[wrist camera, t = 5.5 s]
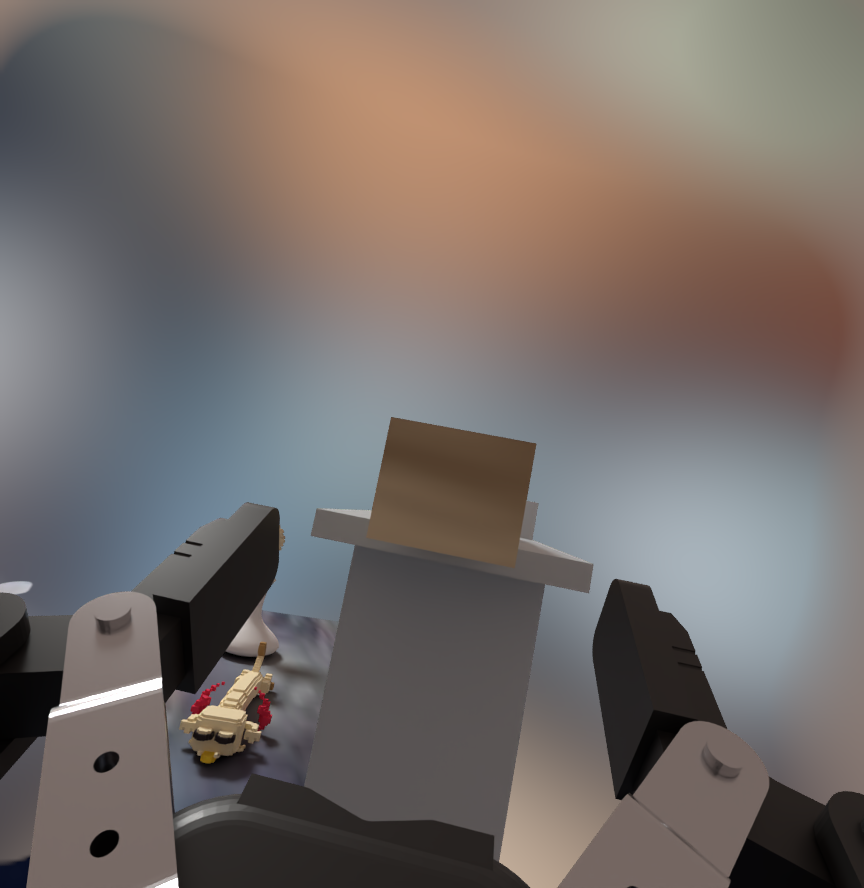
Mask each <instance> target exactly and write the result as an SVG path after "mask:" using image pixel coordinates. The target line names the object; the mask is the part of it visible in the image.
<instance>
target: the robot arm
mask: <svg viewBox="0 0 864 888" xmlns="http://www.w3.org/2000/svg"><path fill="white" fill-rule="evenodd" d="M279 524H280V516H279V511H278V509H277V508H273V507H268V506H263V505H258V504H253V503H249V502H247V503H244V504H243V505H242V506H241V507H240V508H239V509H238V510H237V511H236V512H235V513H234V514H233V515H232V516H231V517H230V518H229V519H224V518H219V519H217V520H214V521H212V522H210V523H208V524H206V525H204V526H202V527H200V528H199V529H198V530H197V531H195V532H194V533H193V534H192V535H191V536H190V537H189V538H188V539H187V540H186V542H185V543H183V544H181V545H180V547H178V548H177V549H176V550H175V551H174V554H171V555H170V556H169V557H167V559H165V560H164V561H163V562H162V563H161V564H160V565H159V566H158V567H157V568H156V569H155V570H153V571H152V572H151V573H150V574H149V575H148V576H147V577H146V578H145V579H144V580H143V581H142V582H141V583H139V585H137V586H136V587H135V588H134V589H133V590H132V591H131V592H117V593H111V594H107V595H104V596H101V597H98V598H96V599H94V600H92V601H90V602H88V603H87V604H85V605H84V606H82V607H81V608H80V609H79V610H78V611H76V613H75V614H74V615H62V616H28V613H27V609H26V605H25V602H24V601H23V599H22V598H20V597H19V596H17V595H14V594H10V593H0V779H1V778H2V777H3V776H4V775H5V774H6V773H7V772H8V770H9V769H10V768H11V767H12V765H14V763H15V762H16V761H17V760H18V759H19V758H20V757H21V756H22V754H23V753H24V752H25V751H26V750H27V749H28V748H29V746H30V745H31V744H32V743H33V742H34V741H35V740H36V738H37V737H42V736H46V742H45V750H44V757H43V765H42V772H41V781H40V788H39V795H38V803H37V812H36V818H35V826H34V834H33V842H32V849H31V857H30V865H29V872H28V880H27V888H530V887H529V886H528V885H527V884H526V883H525V882H524V881H523V880H521V878H519V877H518V876H517V875H516V874H515V873H513V872H512V871H511V870H509V869H508V868H507V867H505V866H504V865H503V864H501V863H499V862H498V861H496V860H494V859H493V857H494V835H490V834H486V833H482V832H478V831H475V830H471V829H467V828H463V827H459V826H455V825H451V824H447V823H443V822H439V821H436V820H405V821H366V820H363V819H361V818H359V817H357V816H356V815H354V814H352V813H351V812H349V811H347V810H346V809H344V808H342V807H340V806H339V805H337V804H335V803H334V802H332V801H330V800H329V799H327V798H325V797H324V796H322V795H320V794H318V793H317V792H315V791H313V790H312V789H310V788H307V787H303V786H299V785H295V784H291V783H287V782H283V781H279V780H276V779H272V778H268V777H264V776H260V775H256V774H251V776H250V778H249V780H248V782H247V784H246V786H245V788H244V790H243V792H242V794H233V795H226V796H220V797H215V798H212V799H208V800H204V801H201V802H199V803H196V804H193V805H191V806H188V807H186V808H184V809H182V810H180V811H178V812H176V813H175V808H174V798H173V786H172V774H171V763H170V751H169V739H168V728H167V716H166V705H165V703H166V701H167V700H168V699H169V697H170V696H171V695H172V693H173V692H174V691H175V689H176V690H180V691H184V692H188V693H192V694H196V692H197V691H198V689H199V688H200V687H201V685H202V684H203V682H204V681H205V680H206V678H207V677H208V675H209V674H210V672H211V671H212V670H213V668H214V667H215V665H216V664H217V662H218V661H219V660H220V658H221V657H222V655H223V654H224V652H225V651H226V650H227V648H228V647H229V645H230V644H231V642H232V641H233V640H234V638H235V637H236V635H237V634H238V632H239V631H240V630H241V628H242V627H243V625H244V624H245V623H246V621H247V620H248V618H249V617H250V615H251V614H252V613H253V611H254V610H255V608H256V607H257V605H258V604H259V603H260V601H261V600H262V598H263V597H264V595H265V594H266V593H267V591H268V590H269V588H270V587H271V585H272V583H273V581H274V579H275V576H276V573H277V569H278V563H279ZM593 663H594V669H595V675H596V681H597V687H598V694H599V700H600V706H601V712H602V718H603V724H604V730H605V736H606V743H607V748H608V755H609V761H610V767H611V773H612V779H613V785H614V791H615V797H616V799H619V800H622V801H621V802H620V803H619V805H618V806H617V808H616V809H615V810H614V812H613V813H612V814H611V816H610V817H609V818H608V820H607V821H606V822H605V824H604V825H603V826H602V828H601V829H600V831H599V832H598V833H597V835H596V836H595V838H594V839H593V840H592V841H591V843H590V844H589V846H588V847H587V848H586V850H585V851H584V852H583V854H582V855H581V856H580V858H579V859H578V860H577V862H576V864H575V865H574V866H573V867H572V869H571V870H570V871H569V873H568V874H567V875H566V877H565V878H564V879H563V881H562V882H561V883H560V885H559V886H558V888H864V795H862V794H860V793H855V792H848V791H843V792H838V793H836V794H834V795H833V796H832V797H831V798H830V800H829V801H828V803H827V804H826V806H825V805H823V804H821V803H819V802H817V801H815V800H813V799H811V798H809V797H807V796H805V795H802V794H801V793H799V792H797V791H795V790H793V789H791V788H789V787H787V786H785V785H783V784H781V783H779V782H777V781H775V780H774V779H772V778H770V777H769V776H768V773H767V770H766V768H765V766H764V764H763V762H762V761H761V759H760V758H759V757H758V755H757V754H756V753H755V751H754V750H753V749H752V748H751V747H750V746H749V745H748V744H747V743H746V742H744V741H743V740H742V739H741V738H740V737H738V736H737V735H736V734H734V733H732V732H731V731H729V730H727V727H726V725H725V723H724V720H723V717H722V715H721V713H720V710H719V708H718V705H717V703H716V700H715V698H714V695H713V693H712V691H711V688H710V686H709V683H708V681H707V678H706V676H705V674H704V671H702V666H701V664H700V661H699V659H698V656H697V655H695V649H694V646H693V644H692V641H691V639H690V637H689V634H688V632H687V631H686V630H685V628H684V627H683V626H682V625H681V624H680V623H679V622H678V620H677V619H676V618H675V617H674V616H673V615H672V614H671V613H667V612H663V611H659V609H658V606H657V604H656V601H655V598H654V596H653V592H652V590H651V588H650V586H648V585H643V584H638V583H633V582H629V581H624V580H618V579H614V580H613V581H612V583H611V585H610V588H609V591H608V594H607V597H606V600H605V603H604V606H603V609H602V612H601V615H600V618H599V621H598V624H597V627H596V630H595V634H594V639H593Z"/></svg>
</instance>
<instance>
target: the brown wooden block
mask: <svg viewBox="0 0 864 888" xmlns="http://www.w3.org/2000/svg"><path fill="white" fill-rule="evenodd" d="M535 449H536V443H530V442H525V441H519V440H514V439H508V438H503V437H498V436H492V435H487V434H481V433H476V432H470V431H464V430H459V429H454V428H448V427H443V426H437V425H432V424H427V423H421V422H415V421H410V420H405V419H399V418H394V417H391V421H390V425H389V430H388V435H387V440H386V445H385V450H384V454H383V459H382V464H381V469H380V473H379V478H378V483H377V488H376V493H375V497H374V502H373V507H372V512H371V517H370V521H369V526H368V531H367V536H366V538H370V539H375V540H379V541H384V542H389V543H394V544H399V545H404V546H409V547H413V548H418V549H423V550H428V551H433V552H438V553H443V554H448V555H452V556H457V557H462V558H467V559H472V560H477V561H482V562H487V563H491V564H496V565H501V566H506V567H511V568H515V564H516V558H517V552H518V547H519V541H520V535H521V529H522V524H523V518H524V512H525V506H526V500H527V494H528V488H529V482H530V477H531V472H532V465H533V460H534V454H535Z"/></svg>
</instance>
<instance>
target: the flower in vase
mask: <svg viewBox="0 0 864 888" xmlns="http://www.w3.org/2000/svg"><path fill="white" fill-rule="evenodd" d="M283 533H284V531H283V529H280V525H279V550H281V547H280V546H283V543H284V542H285V540H284V539H285V536H284V535H283ZM275 581H276V579H274V581H273V583H274V582H275ZM273 583H272V584H273ZM265 596H266V594H265V595H264V597H263V598H262V600H261V601H260V603H259V604H258V605H257V607H256V608H255V610H254V611H253V613H252V614H251V615H250V617H249V618H248V620H247V621H246V623H245V624H244V625H243V627H242V628H241V630H240V631H239V632H238V634H237V635H236V637H235V638H234V640H233V641H232V642H231V644H230V645H229V647H228V648H227V650H226V652H229V653H231V654H235V655H239V656H247V657H257V656H258V648H259V645H260V642H267V645H266V653H265V655H269V654H272V653H274V652H275V651H276V650H277V649H278V647H279V644H278V640H277V639H276V637H275V635H274V634H273V633H272V632H271V631H270V629H269V628H268V627H267V626H266V625H265V624H264V622H263V620H262V618H261V611H262V605H263V602H264V598H265Z"/></svg>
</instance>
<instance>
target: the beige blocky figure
mask: <svg viewBox="0 0 864 888" xmlns="http://www.w3.org/2000/svg"><path fill="white" fill-rule="evenodd" d="M266 645H267V642H260V645H259V648H258V656H257V658H256V661H255V664H254V667H253V670H252V671H250V670H243V671H242V673H241V675H240V676H239V677H237V678H236V679H235V683H234V685H233V687H232V688H231V689H230V690H229V691H228V692H227V695H226V696H225V697H224V698H223V699H222V701H221V702H220V705H219V706H212V705H211V706H209V705H210V701H211V697H209V695H210V691H216V687H219V685H220V684H219V683H217V685H212V686H211V688H210V690H209V689H206V690H205V691H203V692H202V695H201V697H200V699H199V700H196V703H194V705H192V707H191V711H192V712H193V713H192V715H191V716H190V717H189V718H188V720H182V721H181V724H180V728H179V729H180V730H184V733H188V734H189V733H190V732H191V731H193V735H192V738H191V740H189V743H190V746H192V750H194V751H198V752H197V755H198V756H201V759H200V761H202V762H203V763H214V762H215V760H216V759H217V758H219V757H220V755H225V756H229V755H232V754H233V753H236V752H240V751H243V750H244V748H245V746H246V745H240V744H241V740H242V736H243V732H244V728H245V729H246V731H245V734H244V739H245V740H248V743H253V742H254V741H258V742H259V740H260V736H261V732H260V731H259V730H261V729H263V730H264V727H265V726H267V725H268V724H270V722H271V718H272V715H270V711H268V710H269V706H270V702H268V700H269V699H265V698H264V697H265V694H266V693H268V692H269V690H273V687H274V683H272V682H271V679H272V674H268V673H267V674H266V676H265V678H264V677H262V675H261V672H259V670H260V667H261V665H262V662H263V659H264V657H265V653H266ZM224 684H225V682H222V684H221V685H224ZM258 693H259V694H260V695H259V698H260V699H262V700H263V704H262V705H259V707H258V710H257V711H258V712H257V713H259V714H260V716H259V720H258V722H260V725H257V723H253V722H250V721H246V719H247V715H246V714H245V713H246V712H245V710H246V708H247V706H248V705H249V703H250V702H251V700H252V699H253V698H255V696H256V695H257V694H258ZM207 705H208V707H207ZM206 707H207V708H206ZM193 714H194V715H193Z"/></svg>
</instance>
